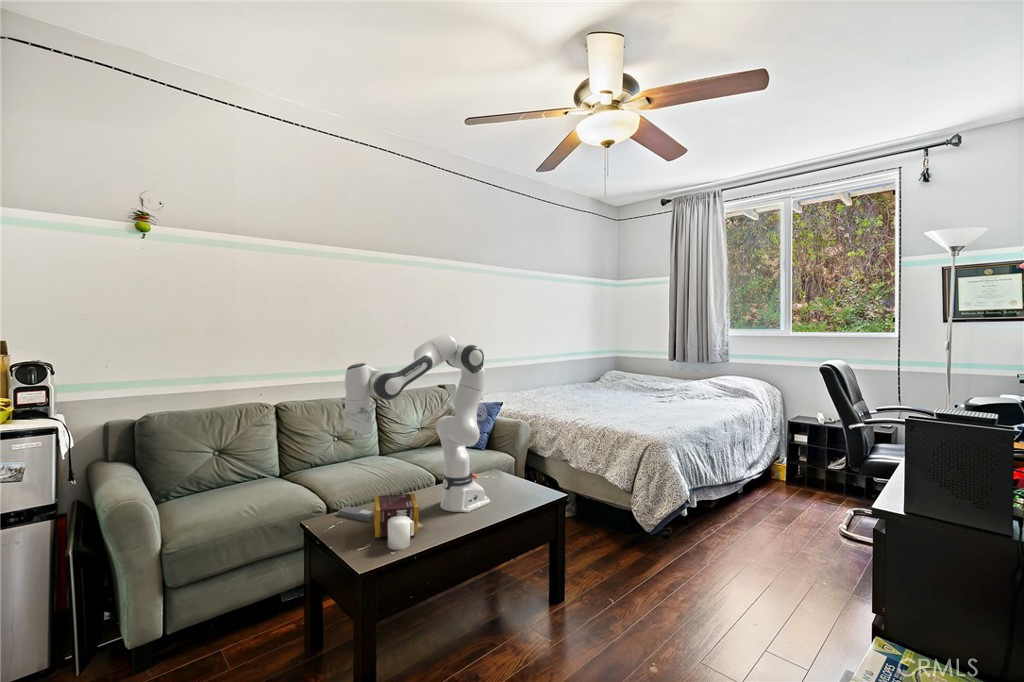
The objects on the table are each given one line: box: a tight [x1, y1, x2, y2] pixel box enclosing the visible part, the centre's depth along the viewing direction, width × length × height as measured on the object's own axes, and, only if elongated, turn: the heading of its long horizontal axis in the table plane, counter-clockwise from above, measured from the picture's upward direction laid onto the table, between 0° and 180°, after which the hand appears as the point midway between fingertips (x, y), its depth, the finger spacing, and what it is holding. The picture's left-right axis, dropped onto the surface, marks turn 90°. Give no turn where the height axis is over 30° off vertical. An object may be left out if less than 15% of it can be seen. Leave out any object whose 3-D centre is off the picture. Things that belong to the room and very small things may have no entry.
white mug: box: [387, 516, 415, 551], centre depth 173 cm, size 9×8×9 cm
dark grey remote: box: [337, 505, 374, 523], centre depth 197 cm, size 16×5×3 cm, turn 69°
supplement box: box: [373, 493, 419, 538], centre depth 184 cm, size 10×15×16 cm
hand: (358, 441), depth 182 cm, fingers closed
